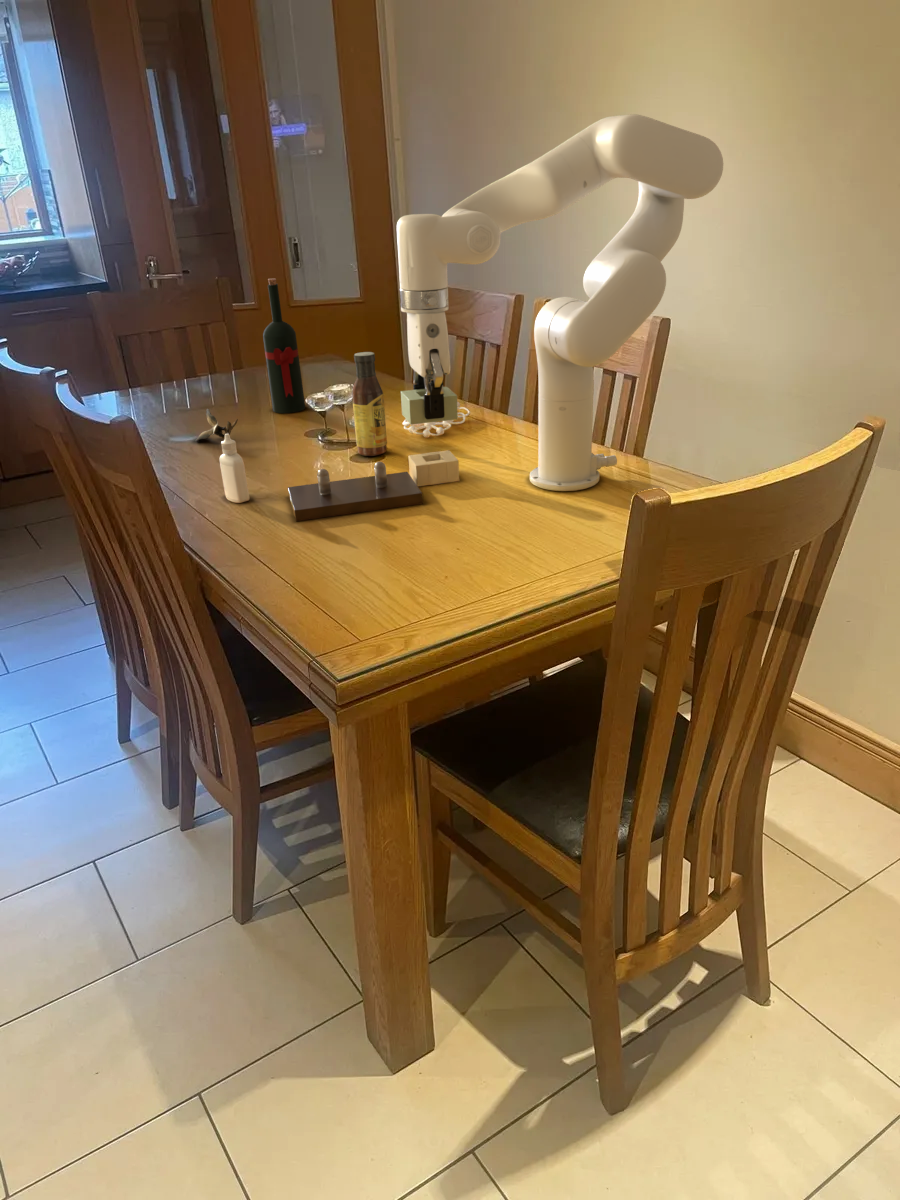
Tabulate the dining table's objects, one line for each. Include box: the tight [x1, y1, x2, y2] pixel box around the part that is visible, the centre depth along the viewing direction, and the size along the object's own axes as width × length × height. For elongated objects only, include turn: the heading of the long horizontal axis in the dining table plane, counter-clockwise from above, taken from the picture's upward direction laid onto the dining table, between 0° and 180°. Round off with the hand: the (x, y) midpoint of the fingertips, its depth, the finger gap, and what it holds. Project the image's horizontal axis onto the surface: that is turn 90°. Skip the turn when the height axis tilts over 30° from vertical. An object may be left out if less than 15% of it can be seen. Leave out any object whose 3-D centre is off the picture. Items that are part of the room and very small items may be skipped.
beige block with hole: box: [407, 449, 460, 487], centre depth 160 cm, size 8×6×4 cm
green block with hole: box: [400, 386, 459, 424], centre depth 143 cm, size 8×6×4 cm
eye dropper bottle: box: [218, 433, 250, 504], centre depth 153 cm, size 4×6×12 cm
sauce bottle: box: [351, 351, 388, 457], centre depth 172 cm, size 6×6×20 cm
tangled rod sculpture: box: [402, 401, 471, 439], centre depth 190 cm, size 19×14×4 cm
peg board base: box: [287, 461, 424, 522], centre depth 151 cm, size 22×12×6 cm, turn 105°
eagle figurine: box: [194, 408, 239, 442], centre depth 188 cm, size 8×7×9 cm
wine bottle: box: [262, 277, 306, 414], centre depth 202 cm, size 8×10×30 cm
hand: (429, 411), depth 144 cm, fingers closed on green block with hole, 6 cm apart
